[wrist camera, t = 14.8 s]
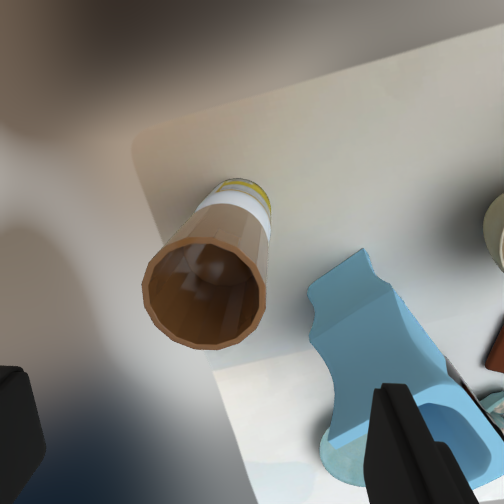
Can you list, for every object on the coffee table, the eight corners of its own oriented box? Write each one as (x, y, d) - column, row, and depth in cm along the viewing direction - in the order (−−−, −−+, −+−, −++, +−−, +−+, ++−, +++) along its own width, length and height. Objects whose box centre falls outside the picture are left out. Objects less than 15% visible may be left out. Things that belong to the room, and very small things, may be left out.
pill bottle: (216, 245, 38) (193, 293, 27) (200, 184, 36) (168, 210, 25) (277, 233, 38) (278, 277, 27) (264, 170, 36) (259, 191, 25)
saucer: (359, 380, 43) (364, 393, 41) (434, 429, 45) (443, 444, 42) (298, 441, 46) (299, 456, 44) (369, 484, 48) (374, 501, 46)
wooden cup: (162, 245, 26) (117, 294, 19) (222, 183, 25) (199, 210, 17) (225, 303, 28) (207, 370, 20) (287, 247, 26) (292, 298, 18)
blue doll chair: (301, 290, 39) (325, 441, 21) (363, 247, 38) (453, 372, 19) (343, 340, 41) (400, 522, 22) (404, 302, 39) (524, 467, 20)
